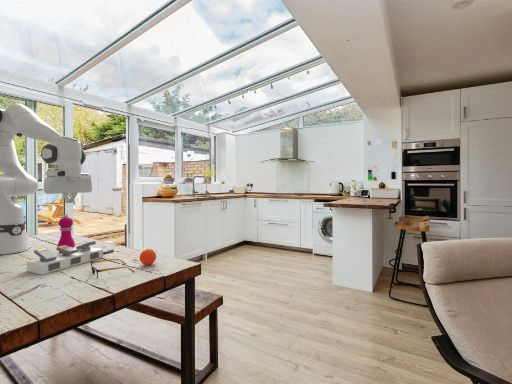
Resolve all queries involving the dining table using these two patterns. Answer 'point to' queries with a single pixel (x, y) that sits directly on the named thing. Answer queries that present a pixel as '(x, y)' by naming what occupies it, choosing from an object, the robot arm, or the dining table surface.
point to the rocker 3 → (86, 245)
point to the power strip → (65, 260)
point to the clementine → (148, 257)
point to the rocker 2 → (67, 249)
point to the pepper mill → (66, 232)
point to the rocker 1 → (45, 254)
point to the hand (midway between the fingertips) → (69, 202)
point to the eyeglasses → (106, 269)
